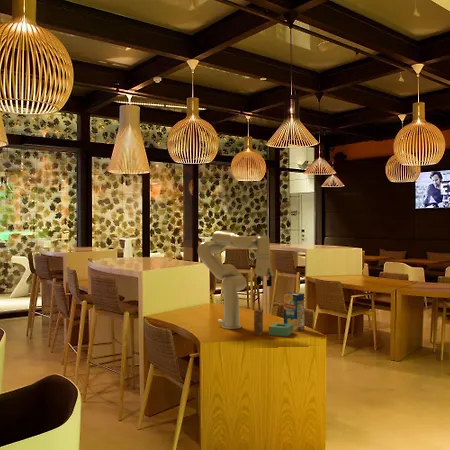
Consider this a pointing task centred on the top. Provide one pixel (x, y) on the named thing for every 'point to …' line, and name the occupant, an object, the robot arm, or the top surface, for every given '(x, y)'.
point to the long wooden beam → (258, 322)
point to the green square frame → (280, 329)
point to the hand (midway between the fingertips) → (264, 285)
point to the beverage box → (294, 310)
